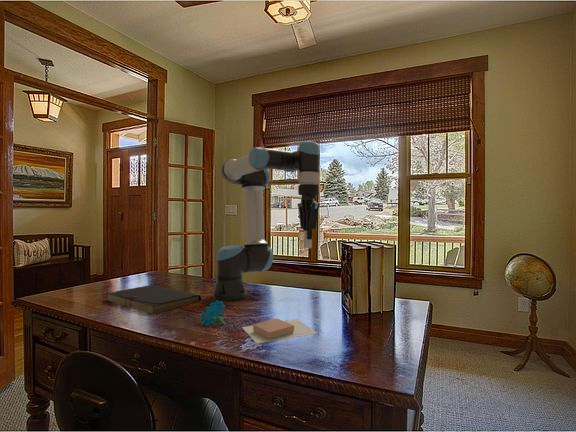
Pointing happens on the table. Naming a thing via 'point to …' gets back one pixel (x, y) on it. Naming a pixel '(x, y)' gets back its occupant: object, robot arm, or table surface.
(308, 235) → the robot arm
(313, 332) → the felt mat
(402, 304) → the table surface
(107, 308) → the table surface
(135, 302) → the dark hardcover book
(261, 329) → the tile
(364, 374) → the table surface
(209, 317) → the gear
